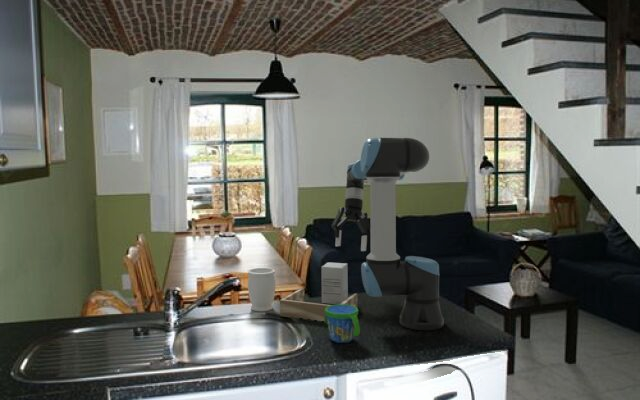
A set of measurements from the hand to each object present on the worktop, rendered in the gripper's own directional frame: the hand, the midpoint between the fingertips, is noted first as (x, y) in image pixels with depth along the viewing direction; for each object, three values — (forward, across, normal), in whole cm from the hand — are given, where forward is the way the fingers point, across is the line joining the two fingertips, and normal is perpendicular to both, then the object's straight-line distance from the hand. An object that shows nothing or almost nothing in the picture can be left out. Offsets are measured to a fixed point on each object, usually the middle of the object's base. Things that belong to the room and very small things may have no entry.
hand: (350, 248), depth 216 cm
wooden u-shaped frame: (+28, +19, +7) cm, 34 cm away
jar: (+28, +34, -10) cm, 45 cm away
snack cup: (+36, +27, +34) cm, 57 cm away
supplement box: (+22, +5, -2) cm, 23 cm away
